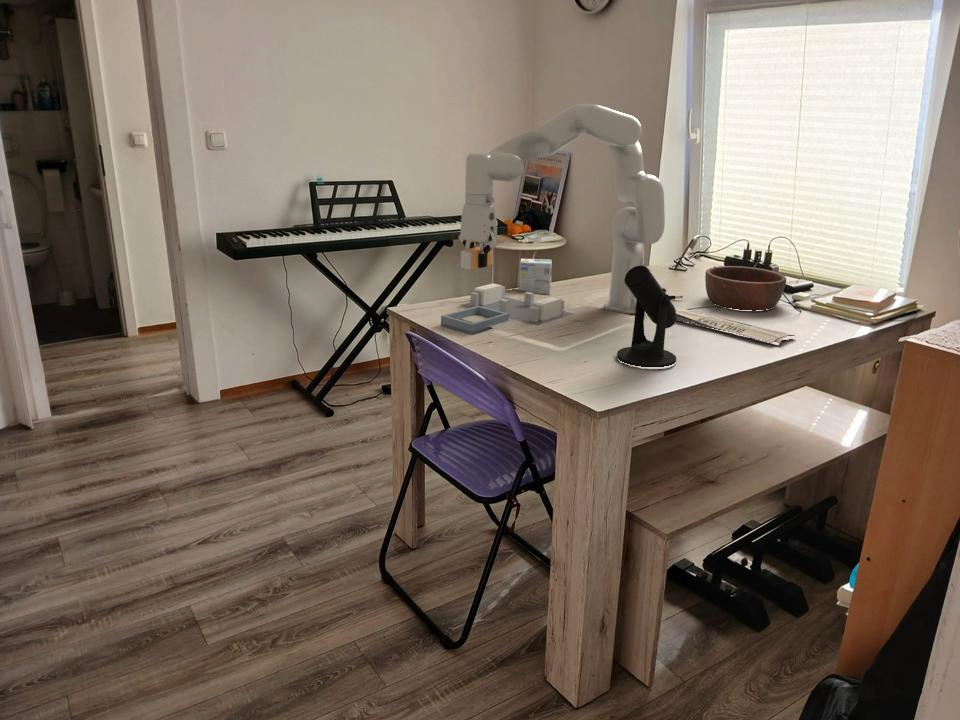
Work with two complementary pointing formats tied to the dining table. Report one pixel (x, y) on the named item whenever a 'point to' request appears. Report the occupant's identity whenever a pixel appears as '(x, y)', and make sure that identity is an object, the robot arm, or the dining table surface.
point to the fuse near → (548, 307)
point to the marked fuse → (474, 258)
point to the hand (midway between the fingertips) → (476, 265)
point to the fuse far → (489, 293)
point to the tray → (473, 328)
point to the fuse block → (516, 308)
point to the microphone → (659, 312)
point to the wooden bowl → (744, 287)
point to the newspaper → (730, 326)
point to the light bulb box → (535, 276)
